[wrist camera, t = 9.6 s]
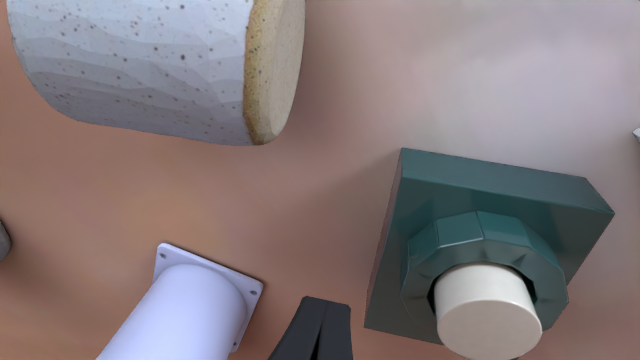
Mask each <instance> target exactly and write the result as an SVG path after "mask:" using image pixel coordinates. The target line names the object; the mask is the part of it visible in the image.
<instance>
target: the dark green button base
mask: <svg viewBox="0 0 640 360" xmlns="http://www.w3.org/2000/svg"><path fill="white" fill-rule="evenodd" d="M614 215H615V212H614V211H613V210H612V209H611V207H610V206H609V205H608V204H607V203H606V201H605V200H604V199H603V198H602V197H601V196H600V194H599V193H598V192H597V191H596V190H595V188H594V187H593V186H592V185H591V184H590V183H589V181H588V180H587V179H586V178H584V177H578V176H572V175H566V174H560V173H554V172H548V171H541V170H535V169H529V168H523V167H517V166H511V165H505V164H499V163H493V162H487V161H481V160H475V159H469V158H463V157H457V156H451V155H445V154H438V153H432V152H426V151H420V150H414V149H408V148H401V151H400V155H399V159H398V164H397V168H396V172H395V176H394V180H393V185H392V189H391V193H390V197H389V201H388V206H387V210H386V214H385V218H384V222H383V227H382V231H381V235H380V239H379V243H378V247H377V252H376V256H375V260H374V264H373V268H372V273H371V277H370V281H369V285H368V289H367V298H366V308H365V318H364V328H367V329H372V330H376V331H381V332H385V333H390V334H394V335H399V336H403V337H408V338H412V339H417V340H421V341H426V342H430V343H435V344H439V345H444V344H443V343H442V341H441V340H440V338H439V335H438V332H437V323H436V313H435V303H434V286H435V284H436V282H437V280H438V278H439V277H440V276H441V275H442V274H443V273H444V272H445V271H447V270H448V269H450V268H452V267H454V266H456V265H459V264H465V263H470V262H476V261H488V262H493V263H498V264H502V265H504V266H507V267H509V268H511V269H512V270H514V271H515V272H516V273H518V274H519V275H520V276H521V277H522V279H523V280H524V282H525V284H526V286H527V289H528V292H529V294H530V297H531V299H532V302H533V305H534V307H535V310H536V312H537V315H538V318H539V320H540V323H541V326H542V332H543V331H545V330H547V329H549V328H551V327H552V326H553V324H554V323H555V321H556V320H557V319H558V317H559V316H560V314H561V313H562V311H563V310H564V309H565V307H566V306H567V304H568V303H569V301H568V300H569V298H568V293H567V285H568V284H569V282H570V281H571V279H572V278H573V276H574V275H575V273H576V272H577V270H578V269H579V267H580V266H581V264H582V263H583V261H584V260H585V258H586V257H587V255H588V254H589V253H590V251H591V250H592V248H593V247H594V245H595V244H596V242H597V241H598V239H599V238H600V236H601V235H602V233H603V232H604V230H605V229H606V227H607V226H608V224H609V223H610V221H611V220H612V218H613V217H614ZM444 346H445V345H444ZM518 358H519V357H517V358H514V359H510V360H517V359H518Z"/></svg>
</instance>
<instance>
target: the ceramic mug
mask: <svg viewBox="0 0 640 360" xmlns="http://www.w3.org/2000/svg"><path fill="white" fill-rule="evenodd" d="M7 14H8V23H9V27H10V29H11V31H12V42H13V45H14V49H15V52H16V54H17V57H18V59H19V61H20V63H21V66H22V68H23V70H24V72H25V74H26V76H27V77H28V79H29V80H30V82H31V83H32V85H33V87H34V88H35V90H36V91H37V92H38V93H39V95H40V96H41V97H42V98H43V99H44V100H45V101H46V102H47V103H48V104H49V105H50V106H52V107H53V108H54V109H56V110H57V111H58V112H60V113H62V114H64V115H65V116H67V117H70V118H72V119H75V120H77V121H81V122H85V123H90V124H97V125H104V126H112V127H118V128H124V129H130V130H136V131H142V132H149V133H154V134H160V135H167V136H175V137H182V138H187V139H192V140H198V141H203V142H209V143H215V144H221V145H231V146H255V145H264V144H267V143H269V142H271V141H272V140H274V139H275V138H276V137H277V136H278V135H279V134H280V133H281V131H282V129H283V127H284V126H285V124H286V121H287V119H288V116H289V113H290V110H291V107H292V103H293V99H294V95H295V91H296V86H297V81H298V77H299V71H300V65H301V58H302V50H303V41H304V28H305V0H7Z"/></svg>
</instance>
